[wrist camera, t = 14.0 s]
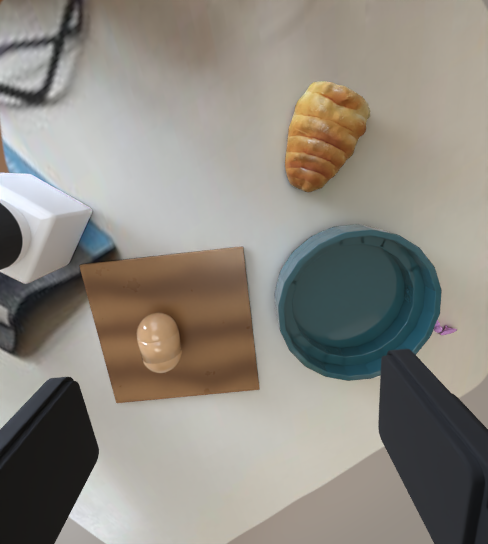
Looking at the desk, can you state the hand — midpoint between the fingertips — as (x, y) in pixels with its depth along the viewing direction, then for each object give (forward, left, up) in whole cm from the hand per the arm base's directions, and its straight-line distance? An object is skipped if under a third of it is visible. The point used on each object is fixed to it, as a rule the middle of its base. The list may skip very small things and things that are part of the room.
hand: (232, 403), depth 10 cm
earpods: (+12, +22, -25) cm, 36 cm away
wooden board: (+9, -9, -25) cm, 28 cm away
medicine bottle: (-5, -20, -25) cm, 32 cm away
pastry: (-10, +9, -25) cm, 29 cm away
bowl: (+7, +11, -25) cm, 28 cm away
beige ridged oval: (+9, -9, -24) cm, 28 cm away
